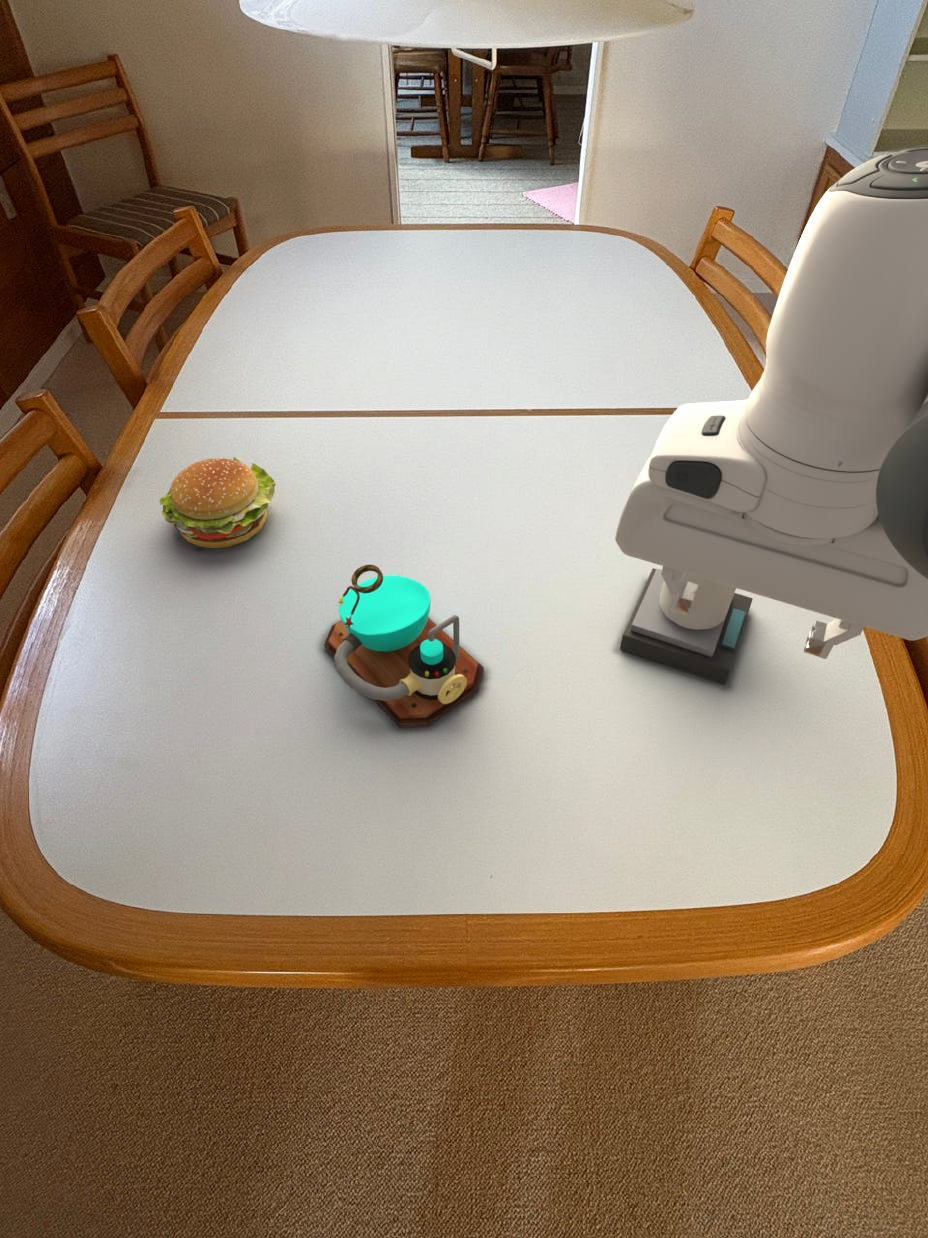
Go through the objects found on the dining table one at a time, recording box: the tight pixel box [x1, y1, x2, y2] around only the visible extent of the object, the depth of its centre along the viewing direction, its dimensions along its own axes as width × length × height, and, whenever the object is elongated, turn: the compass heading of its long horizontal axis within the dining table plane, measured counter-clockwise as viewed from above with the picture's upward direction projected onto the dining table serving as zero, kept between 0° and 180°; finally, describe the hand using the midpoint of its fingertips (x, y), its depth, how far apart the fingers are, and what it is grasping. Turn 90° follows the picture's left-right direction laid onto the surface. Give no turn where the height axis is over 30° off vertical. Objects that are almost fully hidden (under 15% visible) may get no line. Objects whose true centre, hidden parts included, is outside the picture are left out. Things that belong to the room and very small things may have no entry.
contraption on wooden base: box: [323, 564, 485, 728], centre depth 82 cm, size 14×18×15 cm
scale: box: [619, 567, 754, 685], centre depth 90 cm, size 12×12×4 cm
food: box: [158, 456, 276, 549], centre depth 101 cm, size 14×14×8 cm
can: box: [660, 573, 737, 630], centre depth 84 cm, size 8×8×12 cm
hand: (746, 627), depth 55 cm, fingers open, 8 cm apart
